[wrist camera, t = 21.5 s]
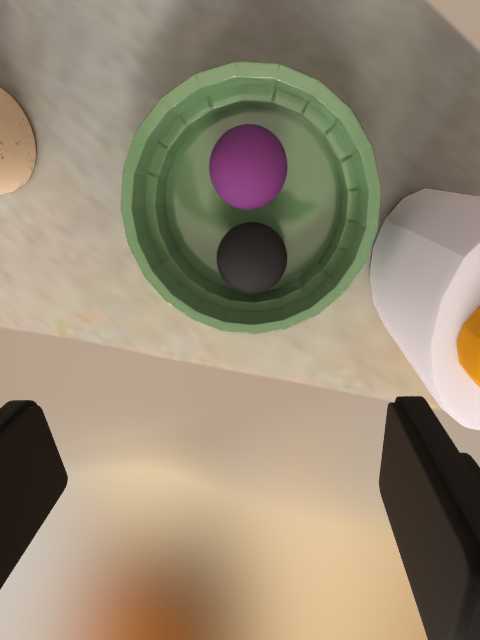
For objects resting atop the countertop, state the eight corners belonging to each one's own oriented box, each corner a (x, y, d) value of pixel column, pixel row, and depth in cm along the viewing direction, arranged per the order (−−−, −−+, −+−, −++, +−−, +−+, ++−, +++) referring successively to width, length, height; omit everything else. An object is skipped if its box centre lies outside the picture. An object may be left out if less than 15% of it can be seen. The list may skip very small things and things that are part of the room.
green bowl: (167, 309, 34) (147, 337, 28) (130, 95, 26) (92, 77, 21) (353, 302, 32) (369, 330, 26) (366, 69, 24) (393, 41, 19)
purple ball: (217, 206, 29) (209, 218, 24) (209, 129, 26) (198, 125, 21) (285, 201, 28) (291, 212, 23) (283, 122, 26) (290, 116, 21)
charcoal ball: (224, 283, 31) (215, 305, 26) (218, 219, 29) (207, 231, 24) (286, 279, 31) (289, 302, 26) (285, 214, 28) (287, 226, 23)
